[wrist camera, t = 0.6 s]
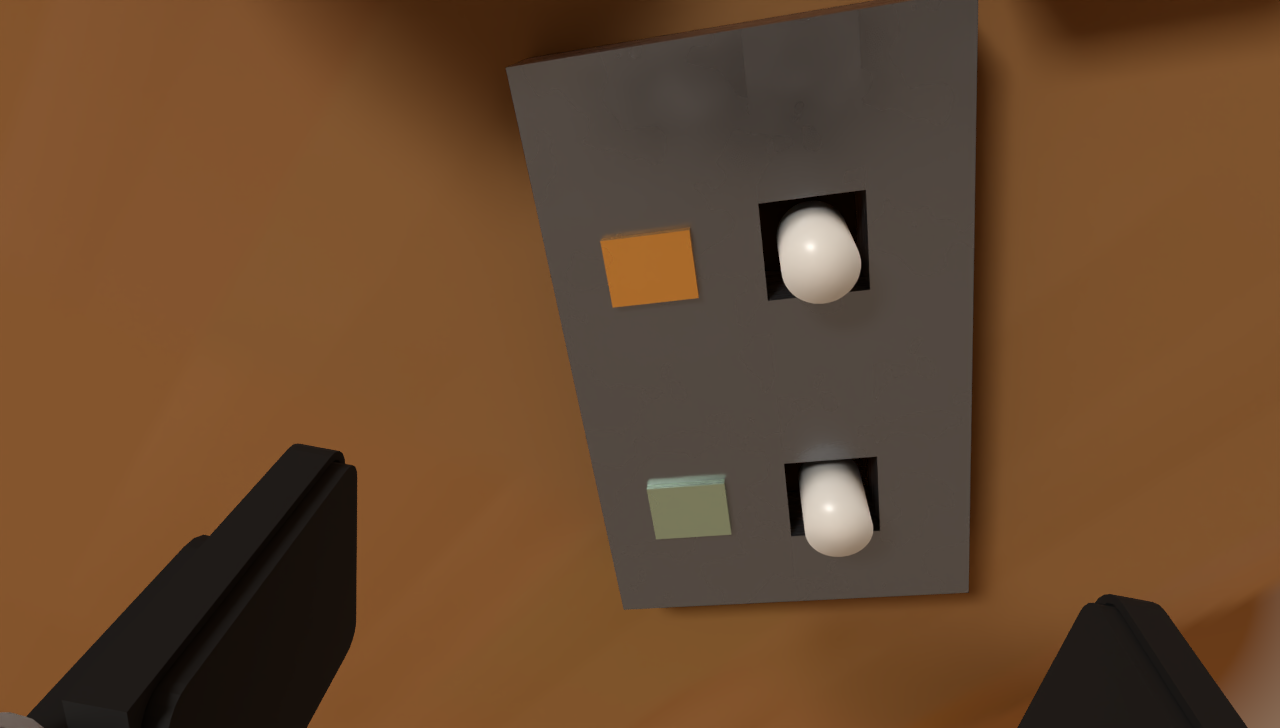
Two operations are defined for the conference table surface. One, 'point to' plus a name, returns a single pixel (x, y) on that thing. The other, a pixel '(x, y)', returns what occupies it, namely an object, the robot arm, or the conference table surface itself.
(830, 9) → the panel
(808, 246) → the tagged button
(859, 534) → the plain button
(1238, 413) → the conference table surface
